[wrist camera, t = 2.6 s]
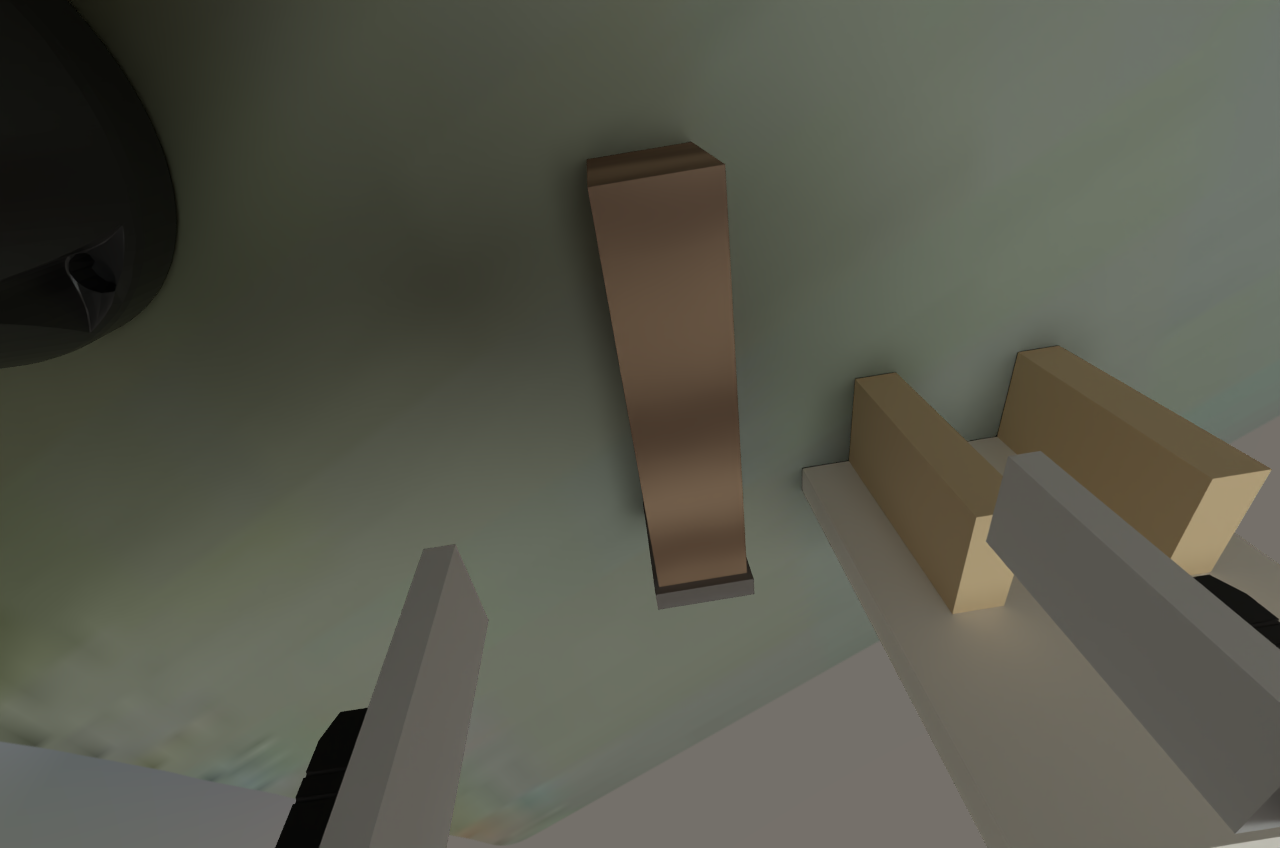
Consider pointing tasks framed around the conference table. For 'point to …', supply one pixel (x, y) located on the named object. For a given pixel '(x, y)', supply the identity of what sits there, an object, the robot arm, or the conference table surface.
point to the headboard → (1010, 616)
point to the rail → (677, 360)
